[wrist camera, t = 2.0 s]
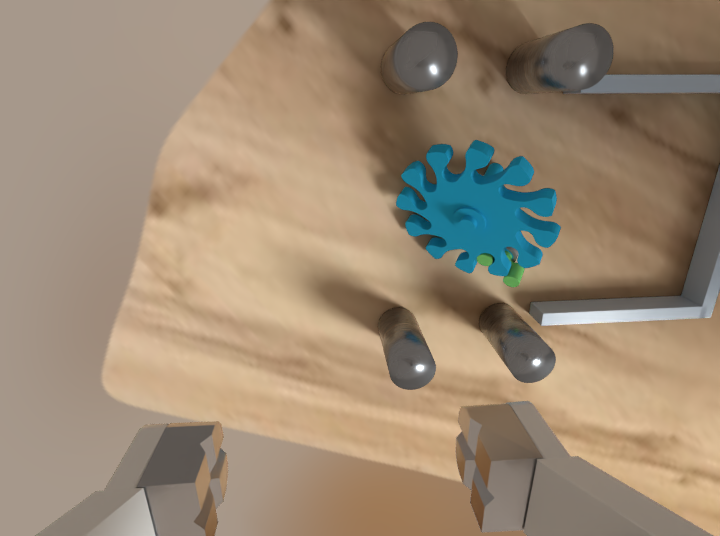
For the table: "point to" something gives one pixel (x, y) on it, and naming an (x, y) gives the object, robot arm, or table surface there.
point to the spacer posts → (527, 76)
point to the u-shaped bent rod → (712, 252)
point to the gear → (479, 211)
